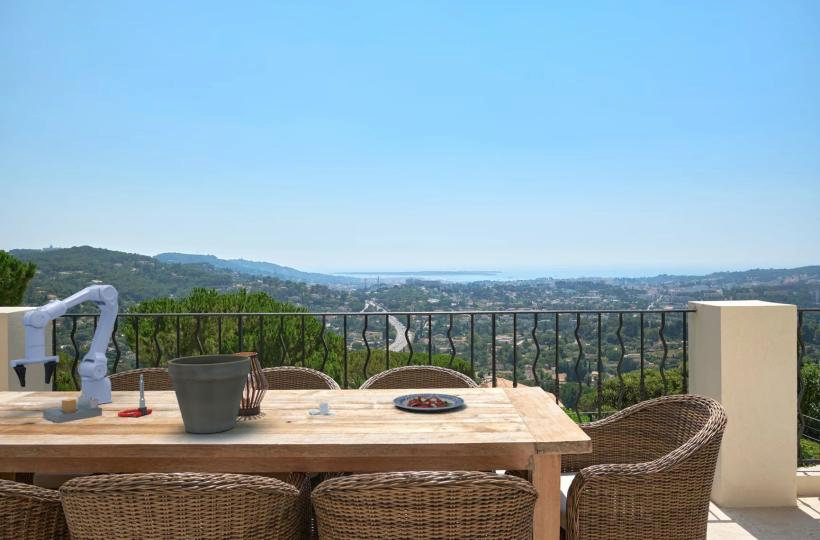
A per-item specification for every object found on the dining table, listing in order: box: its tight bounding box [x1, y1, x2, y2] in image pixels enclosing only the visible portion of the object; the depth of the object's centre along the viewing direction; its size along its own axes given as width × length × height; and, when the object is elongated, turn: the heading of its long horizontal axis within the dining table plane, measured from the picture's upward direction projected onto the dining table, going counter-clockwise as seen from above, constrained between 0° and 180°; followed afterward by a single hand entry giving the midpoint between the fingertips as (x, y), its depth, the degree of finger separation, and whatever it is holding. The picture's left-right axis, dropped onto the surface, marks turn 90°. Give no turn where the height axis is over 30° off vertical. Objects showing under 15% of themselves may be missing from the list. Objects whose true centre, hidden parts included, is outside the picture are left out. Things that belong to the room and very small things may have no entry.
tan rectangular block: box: [61, 398, 77, 413], centre depth 210 cm, size 3×3×6 cm
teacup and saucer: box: [308, 402, 336, 418], centre depth 213 cm, size 9×8×4 cm
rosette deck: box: [42, 394, 103, 424], centre depth 211 cm, size 14×12×6 cm
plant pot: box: [167, 354, 252, 434], centre depth 195 cm, size 25×25×22 cm
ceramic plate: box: [392, 393, 465, 412], centre depth 225 cm, size 26×26×3 cm
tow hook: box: [117, 374, 153, 418], centre depth 214 cm, size 9×14×10 cm
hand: (35, 385), depth 215 cm, fingers open, 7 cm apart
